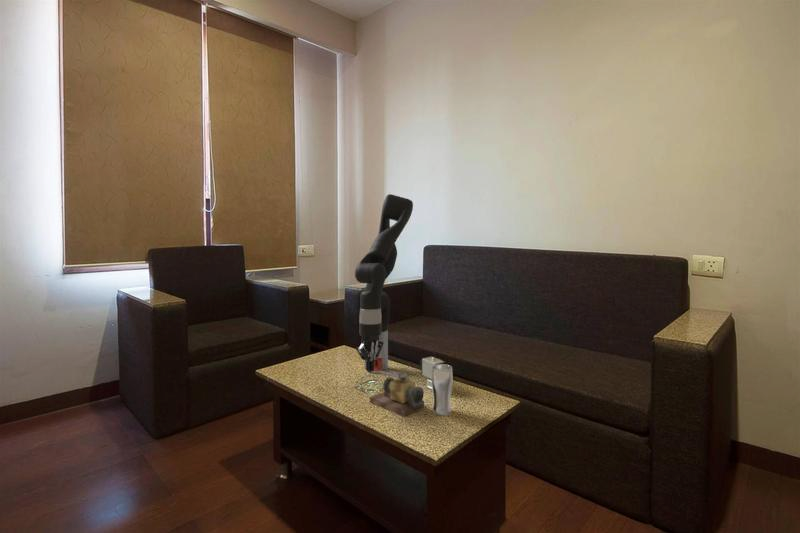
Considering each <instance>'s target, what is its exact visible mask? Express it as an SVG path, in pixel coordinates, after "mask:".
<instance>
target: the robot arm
mask: <svg viewBox="0 0 800 533" xmlns="http://www.w3.org/2000/svg"><path fill="white" fill-rule="evenodd" d="M381 208H382V210H381V214H380V222H379V231H378V234H377V235H376V237H375V238H374V241H373V243H372V245H371V246H370V249H369V251H368V252H367V253H366V254H365V255H364V256H363V257H362V259H361V260H360V261H359V262H358V263H357V265H356V267H355V270H354V276H355V277H354V278H355V279H356V281H357V282H359V283H360V284H366V286H365V289H364V290H363V291H361V292H360V295H359V299H360V300H359V301H360V302H359V305H360V306H359V318H358V319H359V321H358V322H359V325H358V326H359V334H358V335H360V336H361V340H360V346H357V347H356V352H357V353H358V355H359V357H360V359H361V360H363V361H364V370H366V371H367V373H373V374H378V373H377V372H372V371H374V360H375V359H376V357H378V358H382V369H387V370H389V340H388V339H389V333H388V332H389V331H388V330H389V324H390V314H391V313H390V311H391V310H390V309H391V308H390V307H391V302H390V296H389V295H388V294H387V293H386V292H384V291H383V288H384V285H385V281H386V280H387V279H388V277H389V276H390V275H391V273H392V272H393V270H394V268H395V266H396V261H397V257H398V250H397V245H396V241H397V240H398V238H399V237H400V236H401V233H402V232H403V231H404V229H405V227H406V226H407V224H408V222H409V221H410V220H411V215H412V212H413V210H414V203H413V200H411V199H409V198H406V197H402V196H399V195H396V194H390V193H389V194H387V195H386V196H385V198H384V200H383V205H382V207H381ZM390 220H392V221H395V223H394V224H392V225H391V224H390V222H391V221H390Z"/></svg>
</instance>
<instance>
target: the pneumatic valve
mask: <svg viewBox="0 0 800 533" xmlns="http://www.w3.org/2000/svg"><path fill="white" fill-rule="evenodd" d="M437 364H446V365H447V362H446V361H443V360H442V359H440V358H436V357H434V356H426V357H422V358H420V362H419V368H420V374H421V375H422V376H425V377H427V378H428V379H426V384H427V385H426V388H427V389H429V390H432V384H431V375H432V366H434V365H437Z"/></svg>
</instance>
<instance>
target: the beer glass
mask: <svg viewBox="0 0 800 533" xmlns="http://www.w3.org/2000/svg"><path fill="white" fill-rule="evenodd" d="M430 379H431V384H432V395H433V396H432V397H433V404H432V405H433V407H432V413H433V414H434V415H437V416H448V415H450V414H452V409H451V408H452V407H451V395H452V390H453V383H454V382H453V379H454V378H453V366H452V365H449V364H447V363H446V364H437V365H434V366H432V375H431V378H430Z"/></svg>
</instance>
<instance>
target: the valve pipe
mask: <svg viewBox="0 0 800 533" xmlns="http://www.w3.org/2000/svg"><path fill="white" fill-rule="evenodd" d="M382 384H383V385H382V389H383V391H382V392H379V393H377V394H374V395H372V396H370V397H369V403H370V404H372V405H375V406H377V407H380V408H382V409H384V410H387V411H389V412H392V413H395V414H396V415H399V416H402V417H406V416H408V415H410V414H412V413H415V412H416V411H418V410H421V409H423V408H424V407H425V401H424V400H423V398H424V395H425V394H424V389H423V387H421V386H416V380H413V379H410V378H407V379H399V378H398V377H397V378H393V377H392V376H391V377H390V376H389V377H387V378H385V379H384V382H383V383H382Z"/></svg>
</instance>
